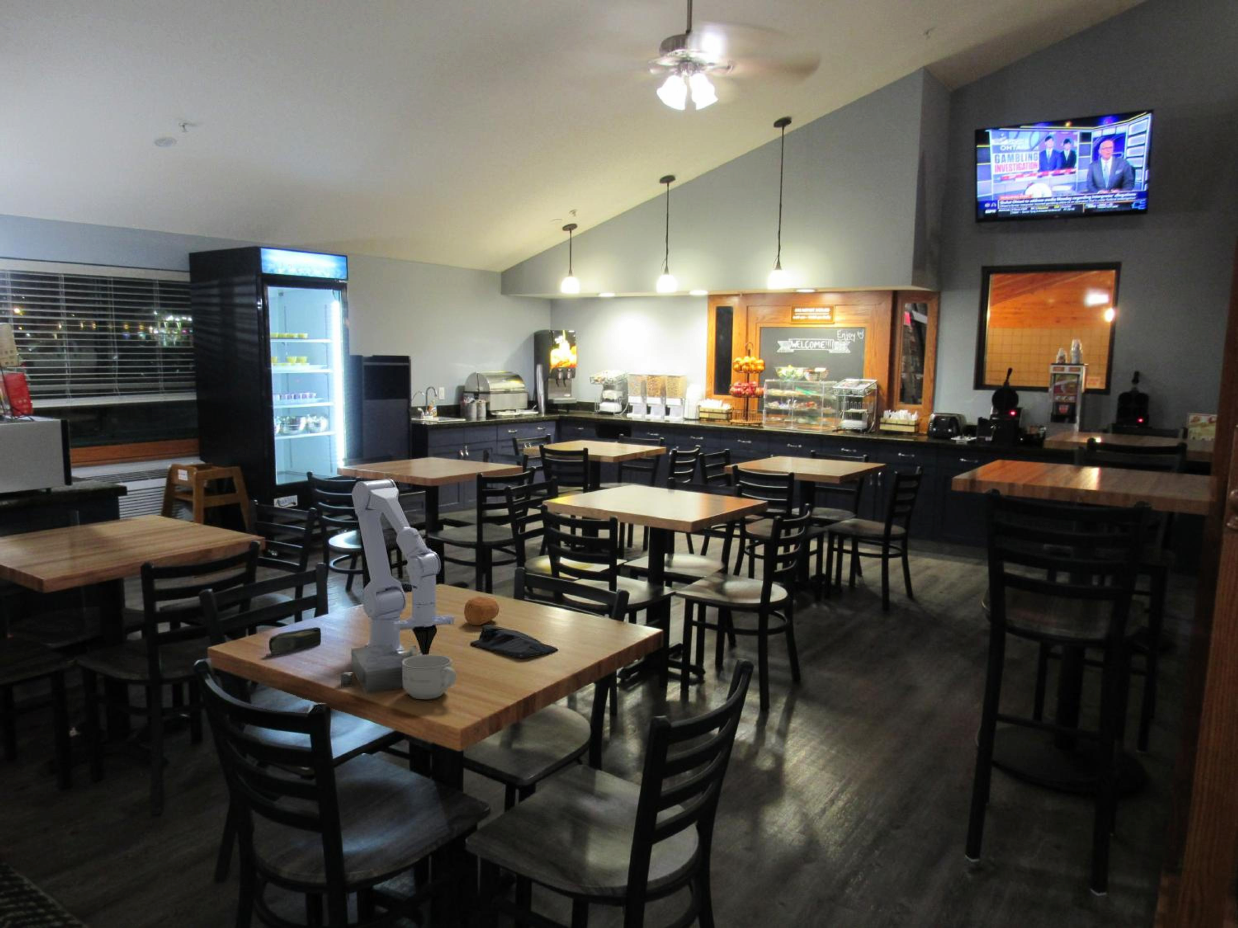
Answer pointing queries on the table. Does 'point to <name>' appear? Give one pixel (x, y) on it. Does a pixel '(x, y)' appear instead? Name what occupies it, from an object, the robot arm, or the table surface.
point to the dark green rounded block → (294, 641)
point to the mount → (377, 667)
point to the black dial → (346, 678)
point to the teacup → (427, 675)
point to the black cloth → (511, 642)
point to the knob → (408, 652)
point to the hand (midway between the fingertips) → (424, 655)
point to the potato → (480, 610)
